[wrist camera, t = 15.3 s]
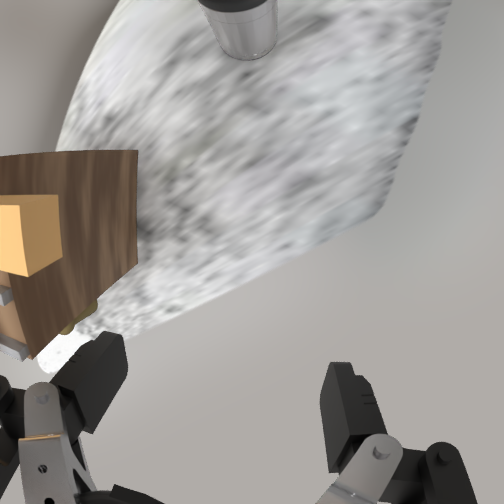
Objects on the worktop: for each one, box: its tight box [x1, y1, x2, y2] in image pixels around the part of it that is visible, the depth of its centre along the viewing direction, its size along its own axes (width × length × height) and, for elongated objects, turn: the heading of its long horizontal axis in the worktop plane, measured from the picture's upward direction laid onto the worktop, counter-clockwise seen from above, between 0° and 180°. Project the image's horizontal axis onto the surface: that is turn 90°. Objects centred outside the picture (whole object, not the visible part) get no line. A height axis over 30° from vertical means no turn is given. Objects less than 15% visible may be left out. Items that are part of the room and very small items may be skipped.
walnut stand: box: [0, 150, 138, 362], centre depth 33 cm, size 12×20×32 cm, turn 175°
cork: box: [59, 299, 98, 335], centre depth 50 cm, size 6×6×11 cm
